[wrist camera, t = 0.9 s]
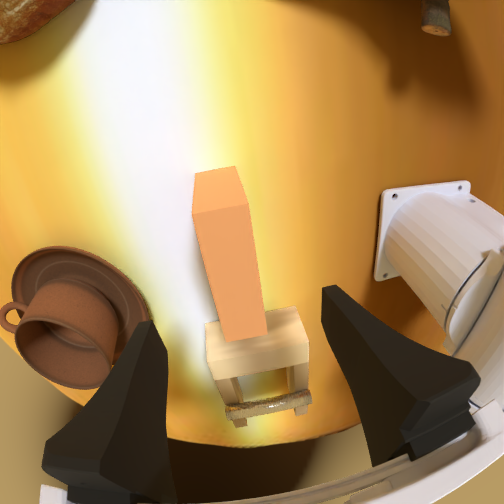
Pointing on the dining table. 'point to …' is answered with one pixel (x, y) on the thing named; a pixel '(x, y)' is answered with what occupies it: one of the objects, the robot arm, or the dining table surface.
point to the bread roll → (27, 16)
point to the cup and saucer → (72, 315)
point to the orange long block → (229, 252)
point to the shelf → (261, 364)
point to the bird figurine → (436, 17)
